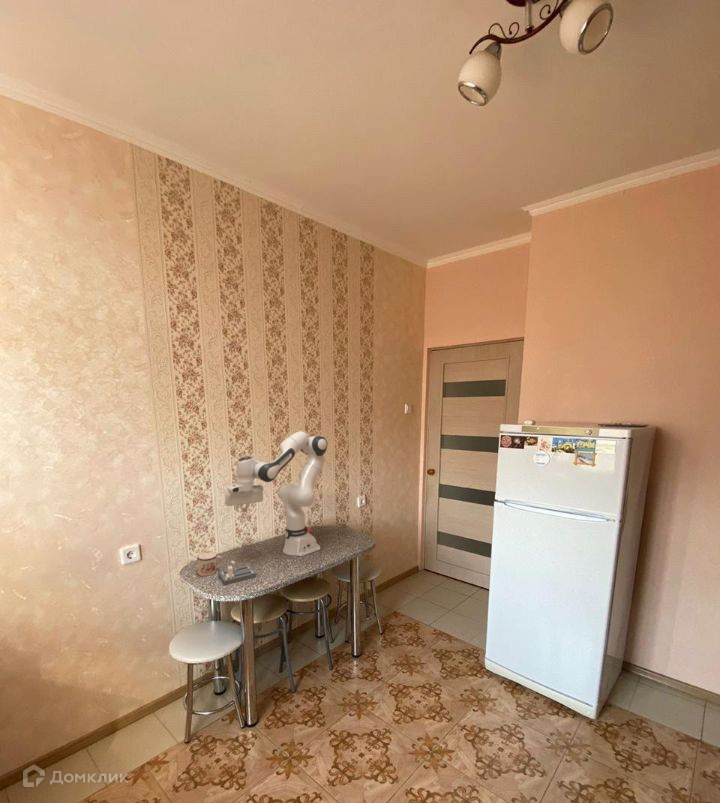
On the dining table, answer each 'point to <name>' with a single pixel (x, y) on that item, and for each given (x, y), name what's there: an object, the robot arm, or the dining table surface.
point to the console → (237, 574)
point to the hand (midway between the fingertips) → (244, 511)
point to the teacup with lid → (207, 563)
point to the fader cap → (229, 572)
